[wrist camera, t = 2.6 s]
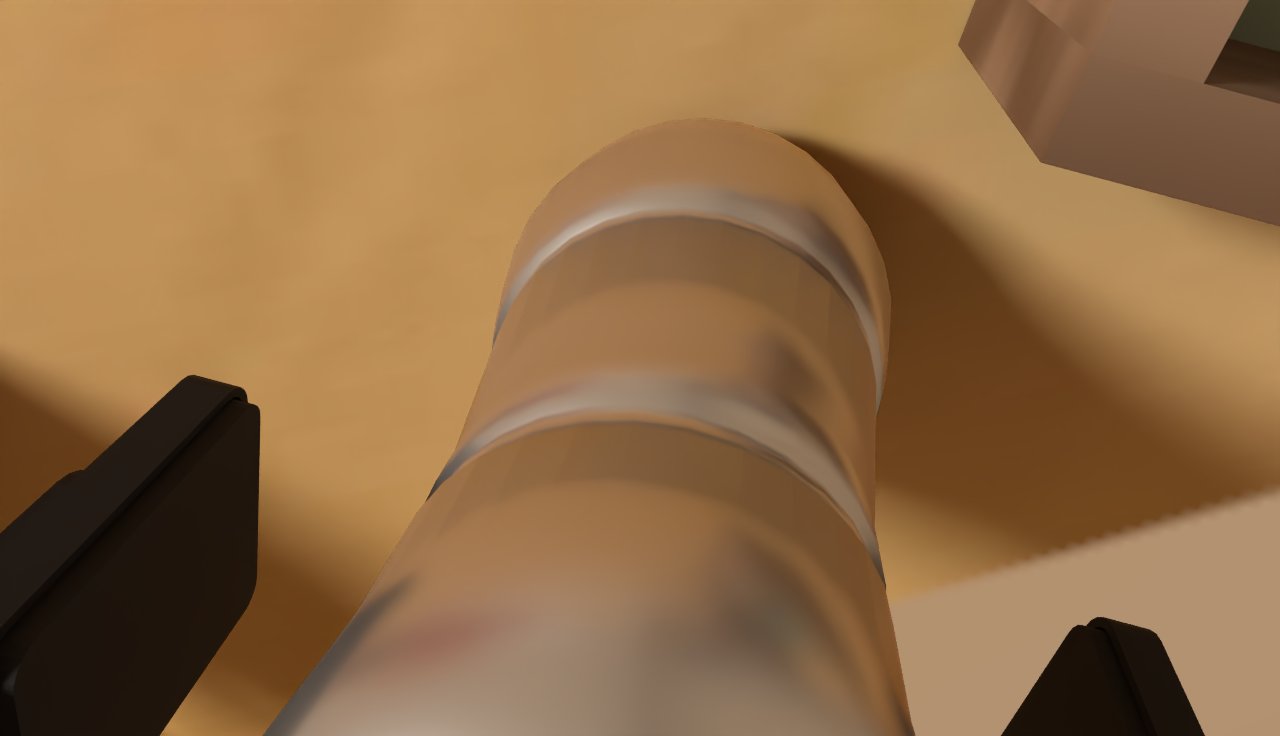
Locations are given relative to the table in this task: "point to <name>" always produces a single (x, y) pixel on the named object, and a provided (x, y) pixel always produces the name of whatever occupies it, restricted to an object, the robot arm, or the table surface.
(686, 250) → the plastic bottle
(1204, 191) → the u rest
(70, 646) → the robot arm
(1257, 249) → the table surface
